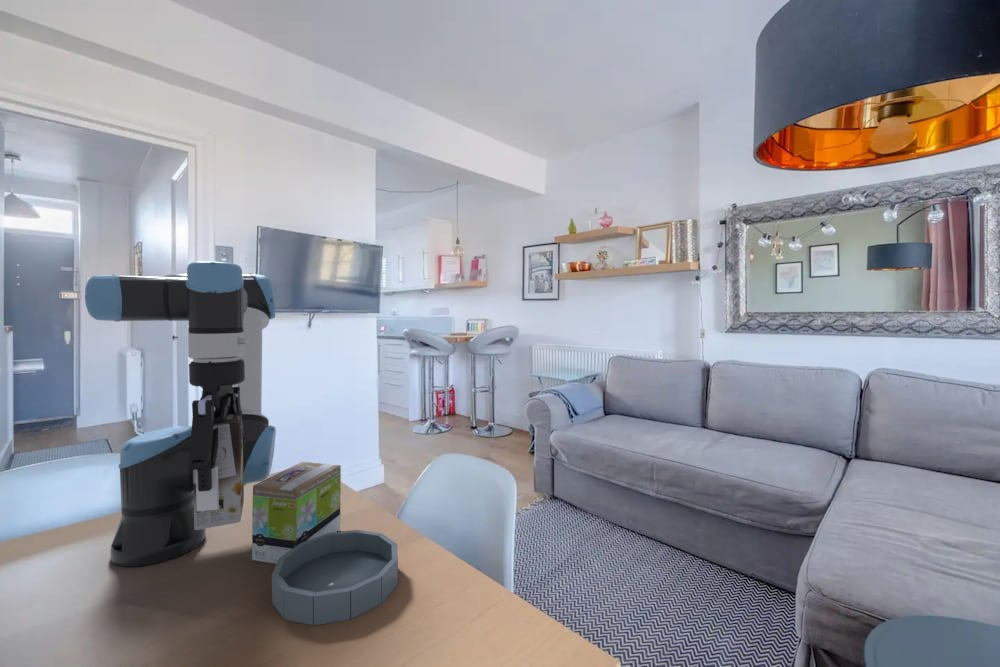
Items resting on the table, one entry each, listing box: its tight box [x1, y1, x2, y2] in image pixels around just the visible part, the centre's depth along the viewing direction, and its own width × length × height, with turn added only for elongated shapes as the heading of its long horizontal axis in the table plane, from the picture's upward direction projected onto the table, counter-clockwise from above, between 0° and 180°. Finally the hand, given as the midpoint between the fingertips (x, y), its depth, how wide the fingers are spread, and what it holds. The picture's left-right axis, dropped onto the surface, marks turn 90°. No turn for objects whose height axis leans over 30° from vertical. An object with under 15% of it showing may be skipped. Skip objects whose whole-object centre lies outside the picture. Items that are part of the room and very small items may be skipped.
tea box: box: [251, 461, 342, 565], centre depth 90 cm, size 15×10×15 cm
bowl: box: [271, 529, 399, 626], centre depth 77 cm, size 20×20×4 cm
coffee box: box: [193, 411, 245, 530], centre depth 72 cm, size 9×6×16 cm
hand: (220, 495), depth 72 cm, fingers closed on coffee box, 10 cm apart
